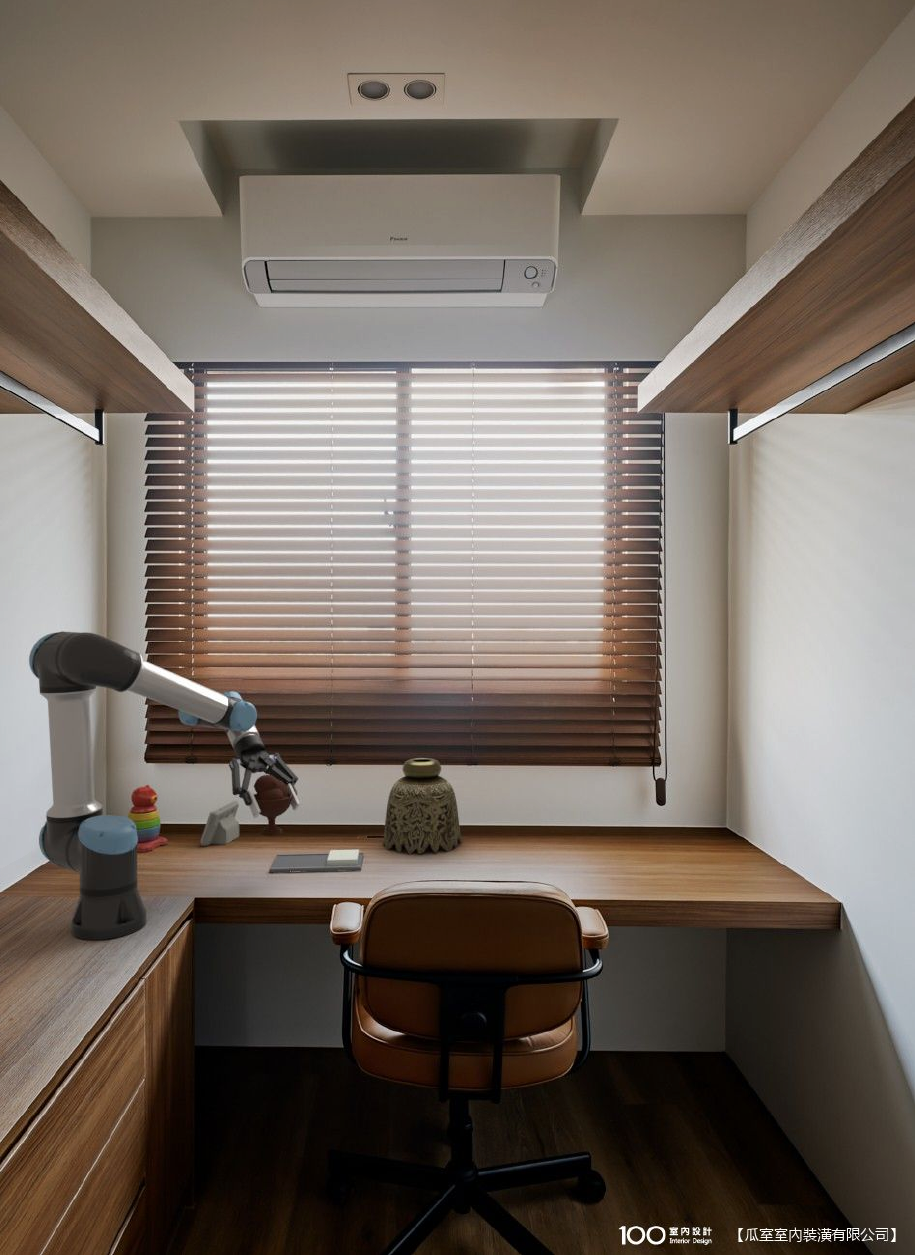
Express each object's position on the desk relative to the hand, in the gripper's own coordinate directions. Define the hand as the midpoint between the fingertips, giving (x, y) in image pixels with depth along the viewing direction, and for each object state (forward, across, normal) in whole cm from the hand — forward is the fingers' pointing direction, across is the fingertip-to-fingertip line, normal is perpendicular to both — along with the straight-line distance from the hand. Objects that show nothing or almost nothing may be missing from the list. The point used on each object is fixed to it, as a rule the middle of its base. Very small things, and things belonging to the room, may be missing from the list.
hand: (277, 810), depth 203 cm
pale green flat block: (+11, -22, -15) cm, 29 cm away
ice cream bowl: (+2, 0, -6) cm, 7 cm away
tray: (+8, -17, -18) cm, 26 cm away
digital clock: (-20, -9, -48) cm, 53 cm away
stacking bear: (-27, +10, -54) cm, 61 cm away
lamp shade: (+12, -51, -15) cm, 54 cm away
